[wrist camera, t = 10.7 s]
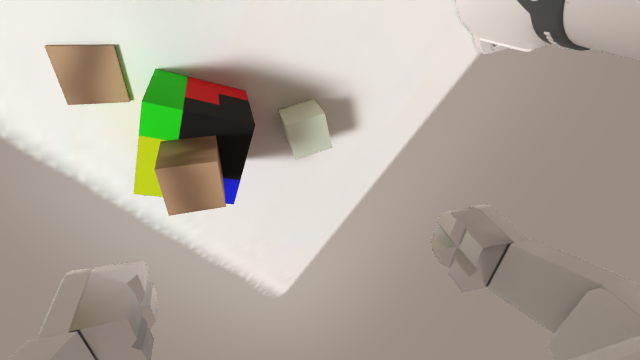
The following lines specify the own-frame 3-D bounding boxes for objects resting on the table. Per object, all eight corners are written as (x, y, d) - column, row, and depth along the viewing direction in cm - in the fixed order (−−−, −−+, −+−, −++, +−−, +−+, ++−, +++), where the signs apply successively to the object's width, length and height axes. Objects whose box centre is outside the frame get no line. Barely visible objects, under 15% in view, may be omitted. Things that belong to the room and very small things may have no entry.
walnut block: (215, 135, 32) (217, 161, 28) (223, 177, 35) (225, 206, 31) (160, 141, 31) (154, 169, 27) (173, 184, 34) (169, 215, 30)
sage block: (314, 98, 43) (324, 113, 40) (321, 130, 47) (332, 147, 43) (278, 109, 43) (285, 125, 39) (287, 141, 46) (295, 159, 42)
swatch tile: (114, 44, 34) (113, 45, 34) (130, 100, 37) (129, 101, 37) (46, 45, 32) (44, 46, 32) (69, 103, 36) (68, 104, 35)
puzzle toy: (228, 159, 45) (233, 204, 37) (147, 146, 41) (133, 193, 33) (245, 90, 40) (255, 125, 33) (155, 68, 36) (141, 101, 28)
